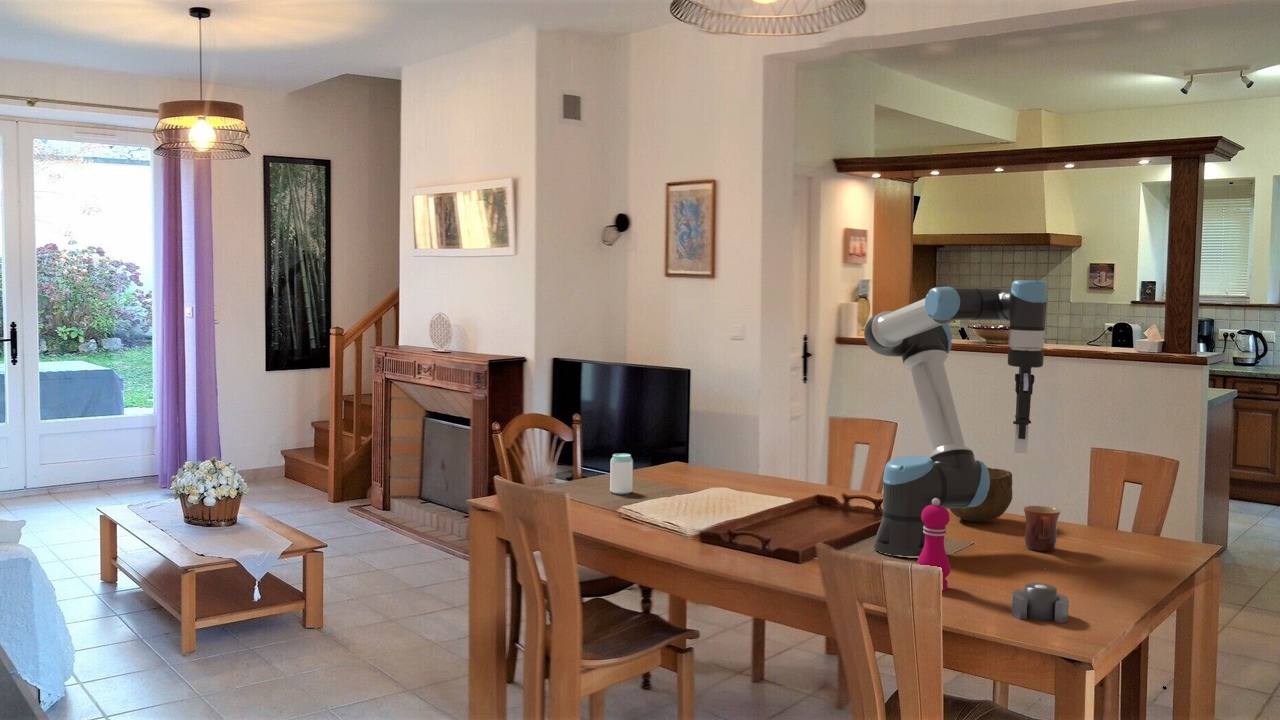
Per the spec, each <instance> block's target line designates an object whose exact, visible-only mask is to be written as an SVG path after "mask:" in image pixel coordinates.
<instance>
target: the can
mask: <svg viewBox="0 0 1280 720" xmlns="http://www.w3.org/2000/svg"><path fill="white" fill-rule="evenodd" d="M609 467H610V471H609V473H610V475H609V479H610V480H609V491H610V492H611V493H612V494H613V495H629V494H631V493H632V492H633V487H634V486H633V482H634V481H633V479H634V478H633V477H634V459H633V458H632V455H631V454H630V453H613V454H612V457H611V458H610V466H609Z"/></svg>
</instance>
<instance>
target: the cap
mask: <svg viewBox="0 0 1280 720" xmlns="http://www.w3.org/2000/svg"><path fill="white" fill-rule="evenodd" d="M1024 591H1025V598H1026V599H1027V619H1030V620H1033V621H1038V622H1051V621H1055V603H1056V597H1057V593H1058V588H1057V587H1055V586H1053V585H1050V584H1046V583H1042V582H1041V583H1039V582H1031V583H1026V584H1025V585H1024Z"/></svg>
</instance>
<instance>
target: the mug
mask: <svg viewBox="0 0 1280 720" xmlns="http://www.w3.org/2000/svg"><path fill="white" fill-rule="evenodd" d="M1023 511H1024V515H1025V516H1024V517H1025V533H1024V541H1025V547H1026V548H1028V550H1030V551H1031V550H1032V551H1034V552H1042V553H1048V552H1053V550H1055V548H1056V545H1057V527H1058V525H1057V524H1058V520H1059V517H1060V515H1061V510H1060V509H1058V508H1055V507H1053V506H1044V505H1027V506H1024V507H1023Z"/></svg>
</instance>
